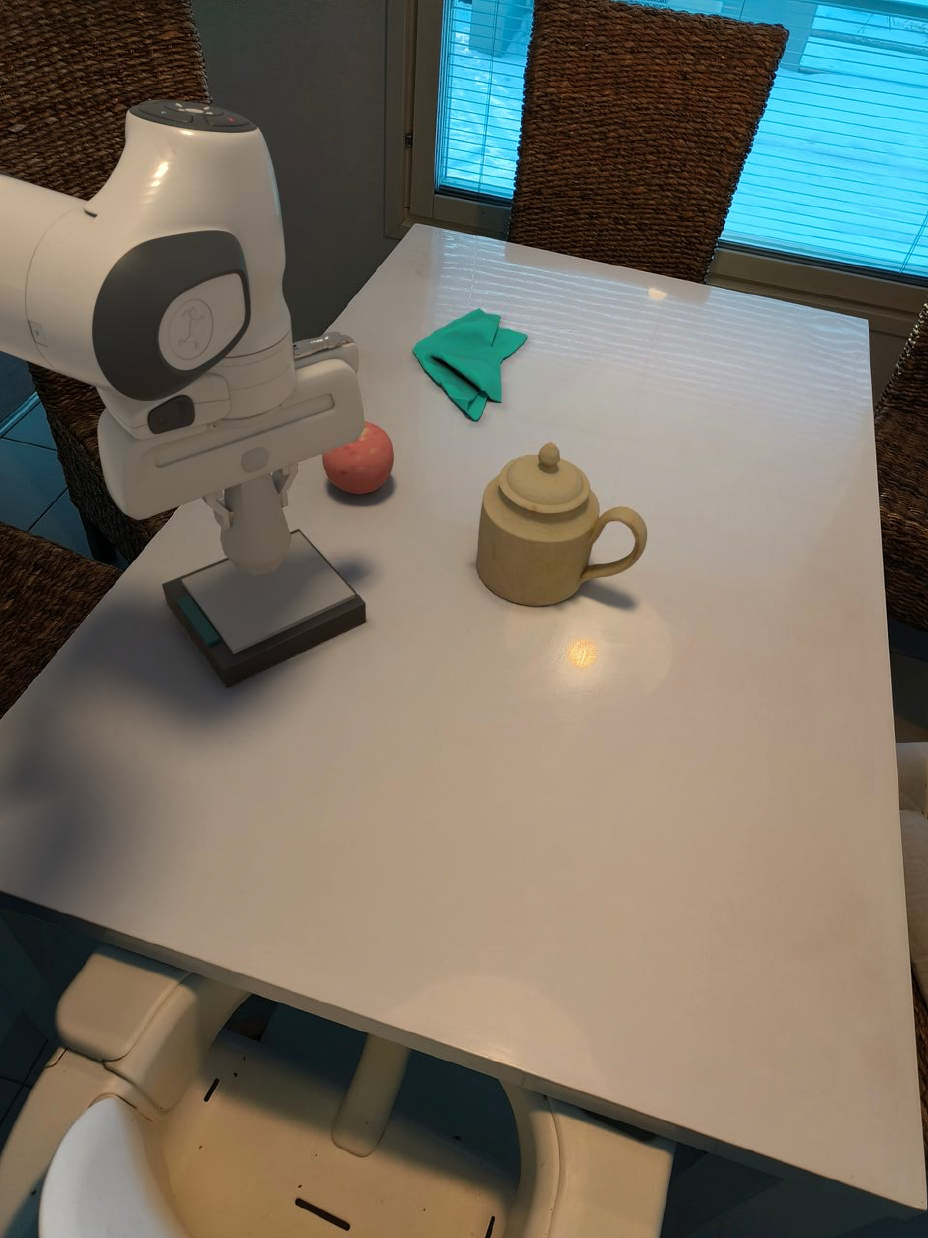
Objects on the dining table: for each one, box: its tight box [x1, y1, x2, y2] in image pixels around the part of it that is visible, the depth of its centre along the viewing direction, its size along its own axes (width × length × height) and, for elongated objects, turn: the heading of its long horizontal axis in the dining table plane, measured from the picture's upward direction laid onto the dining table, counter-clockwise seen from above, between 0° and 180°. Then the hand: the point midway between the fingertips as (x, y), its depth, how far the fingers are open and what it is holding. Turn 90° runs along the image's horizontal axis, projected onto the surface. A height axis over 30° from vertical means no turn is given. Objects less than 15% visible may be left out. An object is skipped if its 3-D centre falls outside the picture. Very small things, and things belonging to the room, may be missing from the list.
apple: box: [321, 420, 395, 495], centre depth 89 cm, size 7×7×8 cm
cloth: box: [412, 307, 529, 421], centre depth 110 cm, size 26×14×2 cm, turn 164°
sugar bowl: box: [475, 441, 648, 607], centre depth 79 cm, size 15×11×15 cm
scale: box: [161, 528, 367, 689], centre depth 77 cm, size 14×12×3 cm
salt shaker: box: [219, 447, 291, 576], centre depth 69 cm, size 6×6×13 cm
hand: (252, 514), depth 70 cm, fingers closed on salt shaker, 3 cm apart
